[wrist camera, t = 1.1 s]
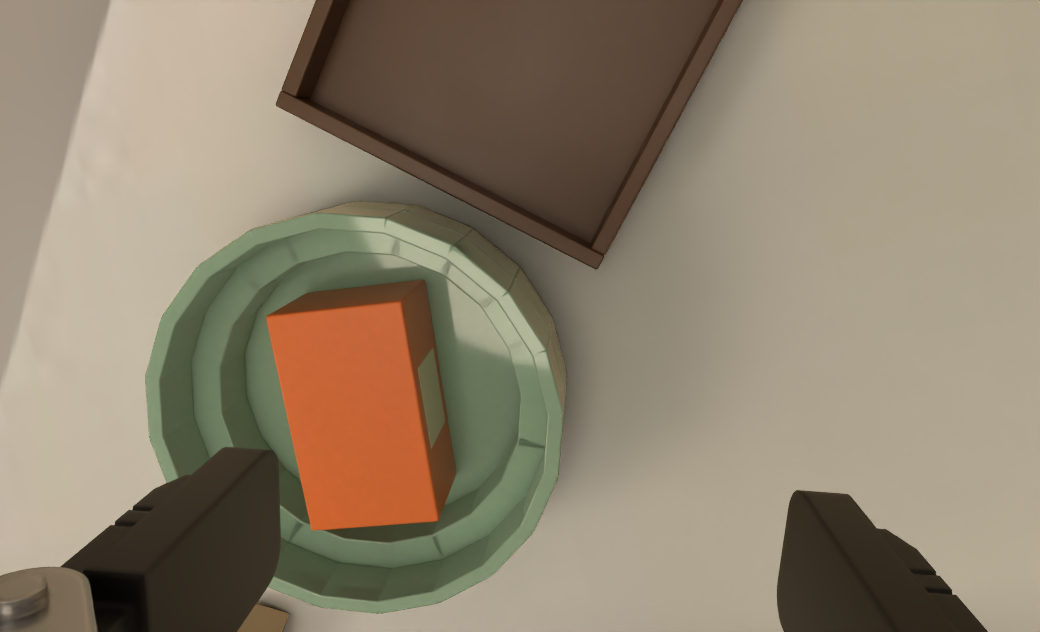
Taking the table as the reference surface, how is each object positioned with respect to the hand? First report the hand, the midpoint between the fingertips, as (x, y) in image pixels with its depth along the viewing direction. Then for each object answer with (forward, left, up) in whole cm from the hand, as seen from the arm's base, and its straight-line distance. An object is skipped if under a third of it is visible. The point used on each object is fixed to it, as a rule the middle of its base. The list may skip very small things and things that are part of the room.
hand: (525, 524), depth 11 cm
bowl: (+9, 0, -19) cm, 20 cm away
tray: (-5, -10, -19) cm, 22 cm away
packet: (+9, 0, -18) cm, 20 cm away
